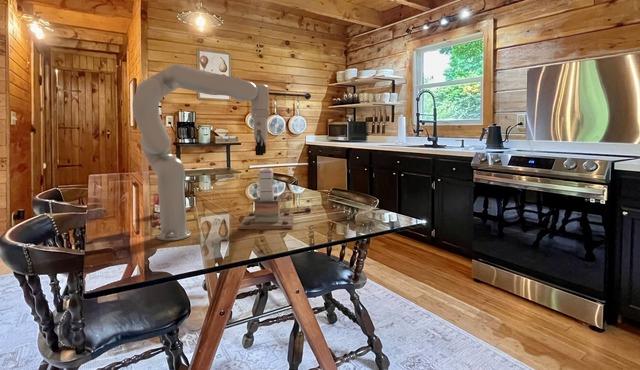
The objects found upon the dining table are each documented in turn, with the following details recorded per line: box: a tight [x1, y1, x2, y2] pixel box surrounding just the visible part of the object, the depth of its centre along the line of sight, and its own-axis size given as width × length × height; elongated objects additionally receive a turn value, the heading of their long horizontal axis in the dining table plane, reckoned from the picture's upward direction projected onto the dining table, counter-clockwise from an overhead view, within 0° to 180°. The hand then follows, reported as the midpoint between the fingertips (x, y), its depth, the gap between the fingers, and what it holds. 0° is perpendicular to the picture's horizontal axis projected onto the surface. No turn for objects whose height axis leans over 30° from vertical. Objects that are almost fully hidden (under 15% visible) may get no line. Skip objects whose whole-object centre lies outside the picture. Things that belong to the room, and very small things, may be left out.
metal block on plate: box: [238, 196, 294, 230], centre depth 174 cm, size 22×22×11 cm
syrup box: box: [258, 167, 275, 201], centre depth 172 cm, size 6×6×14 cm
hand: (260, 154), depth 171 cm, fingers open, 9 cm apart
